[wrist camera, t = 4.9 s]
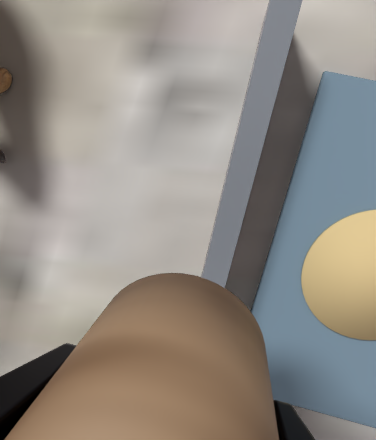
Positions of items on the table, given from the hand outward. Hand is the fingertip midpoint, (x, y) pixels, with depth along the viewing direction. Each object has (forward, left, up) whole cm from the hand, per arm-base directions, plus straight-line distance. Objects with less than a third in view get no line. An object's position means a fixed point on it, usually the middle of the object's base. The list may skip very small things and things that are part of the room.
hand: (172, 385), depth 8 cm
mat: (+1, -10, -12) cm, 15 cm away
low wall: (+1, -1, -12) cm, 12 cm away
